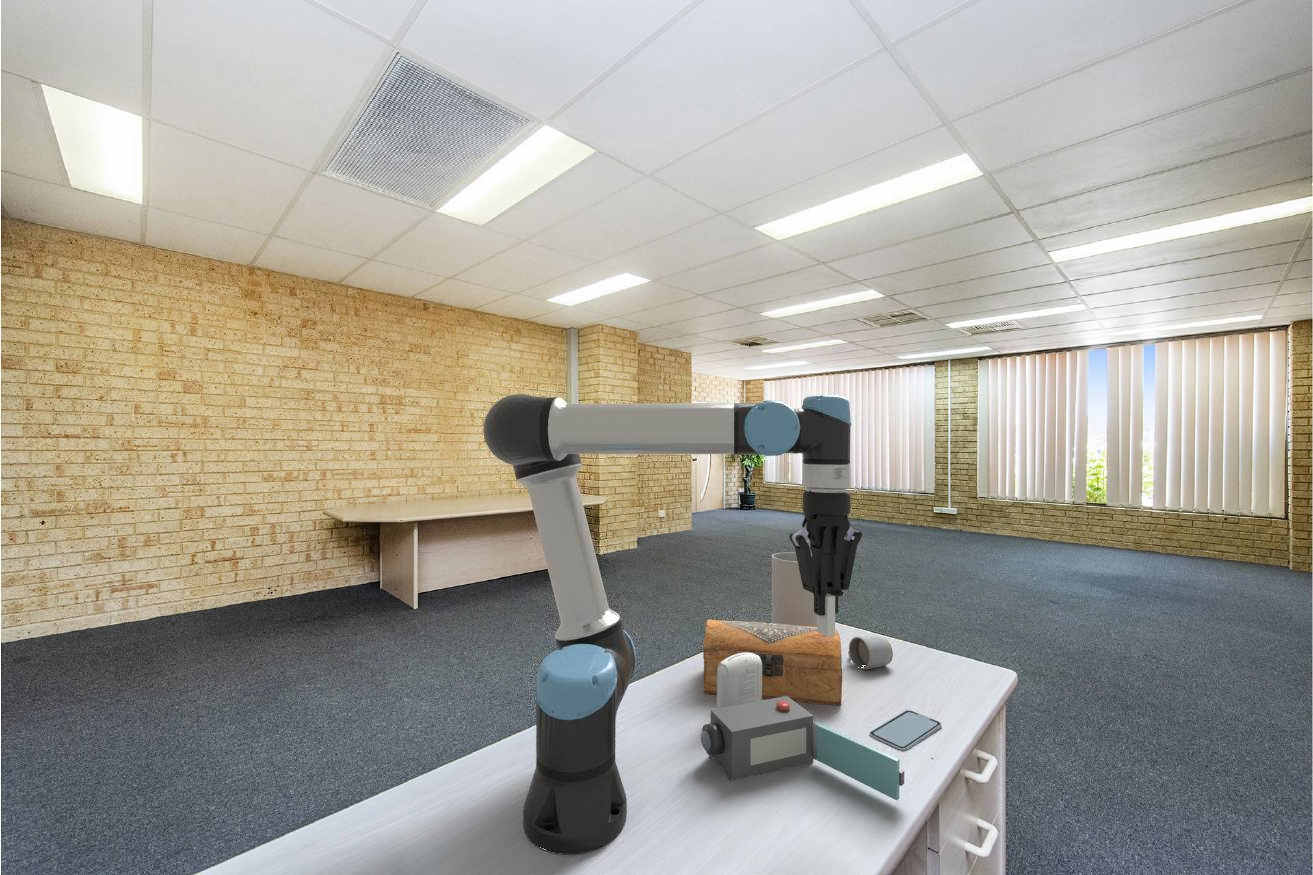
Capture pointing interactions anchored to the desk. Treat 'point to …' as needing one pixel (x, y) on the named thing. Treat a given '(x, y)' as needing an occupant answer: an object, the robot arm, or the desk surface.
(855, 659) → the ceramic mug
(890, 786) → the side door
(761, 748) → the camera body
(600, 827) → the robot arm
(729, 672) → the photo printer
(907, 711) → the smartphone
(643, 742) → the desk surface
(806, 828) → the desk surface
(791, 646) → the wooden box
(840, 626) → the desk surface
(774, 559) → the cylinder vase
